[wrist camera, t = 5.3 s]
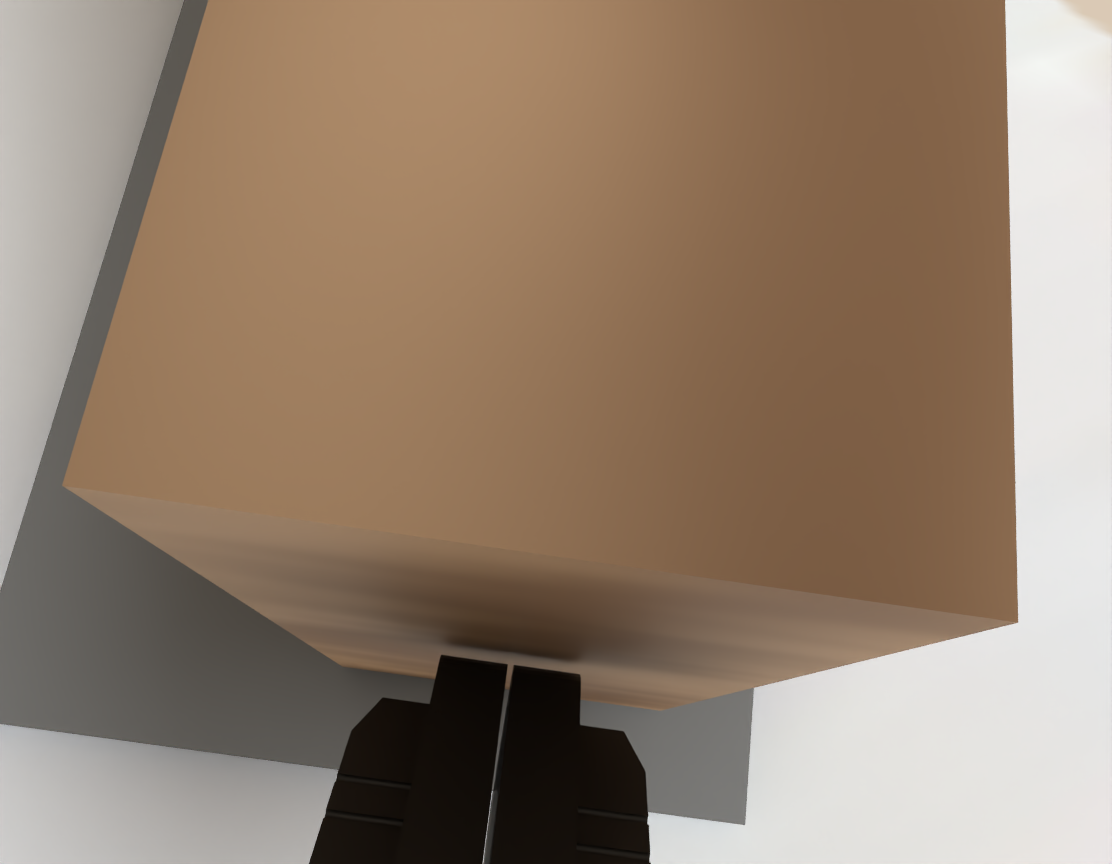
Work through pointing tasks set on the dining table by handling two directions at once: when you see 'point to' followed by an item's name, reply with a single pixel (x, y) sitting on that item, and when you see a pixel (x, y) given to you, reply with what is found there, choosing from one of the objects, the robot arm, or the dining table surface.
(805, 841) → the dining table surface
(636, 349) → the walnut block
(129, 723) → the mat
